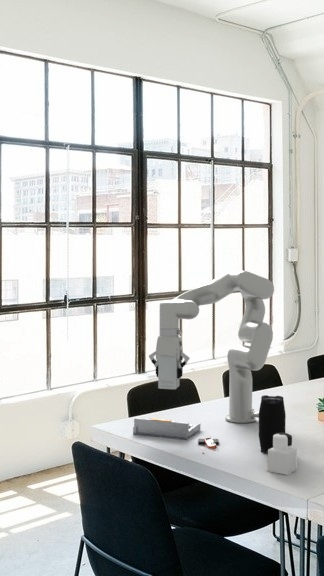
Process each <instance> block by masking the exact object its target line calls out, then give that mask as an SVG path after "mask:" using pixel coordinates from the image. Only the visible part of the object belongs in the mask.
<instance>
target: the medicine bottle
mask: <svg viewBox="0 0 324 576" xmlns="http://www.w3.org/2000/svg"><path fill="white" fill-rule="evenodd" d="M297 453H298V449H297V448H296V447H293V436H292V435H291V434H290V433H287V432H285V433H276V434H274V435H273V448H271V449H269V450H268V452H267V471H268V472H270V473H275V474H279V475H280V474H281V475H284V476H288V475H290V474H292V473H293V472H295V471H297V469H298V468H297V464H298V463H297V461H298V459H297V458H298V456H297V455H298V454H297Z"/></svg>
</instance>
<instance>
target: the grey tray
mask: <svg viewBox="0 0 324 576" xmlns="http://www.w3.org/2000/svg"><path fill="white" fill-rule="evenodd" d="M133 419H134V421H133V423H134V425H133V427H132V434H133V435H135V436H136V435H137V436H145V437H146V436H147V437H155V438H162V439H163V438H164V439H170V440H171V439H173V440H183V441H188V440H189V439H191V438H192V437H194V435H196V434H197V433H199V432H200V431H201V422H197V423H196V424H190V422H183V421H182V422H181V421H172V420H171V419H160V418H159V419H158V418H141V417H140V418H139V417H134V418H133Z"/></svg>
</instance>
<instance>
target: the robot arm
mask: <svg viewBox="0 0 324 576" xmlns="http://www.w3.org/2000/svg"><path fill="white" fill-rule="evenodd" d="M234 292H240V295H241V296H242V297H243V300H244V304H245V308H244V313H243V315H242V318H241V319H242V320H241V322H240V326H239V327H238V328H239V329H238V333H237V335H238V339H239V340H240V341H242V342H243V343H246V344H250V346H249V345H246V344H235V345H233V346H231V347H230V348H229V349H228V351H227V364H228V370H229V373H228V375H229V387H228V389H229V397H228V398H229V399H228V402H229V403H228V404H229V406H228V407H229V408H228V410H229V411H228V412H229V413H228V414H227V415H225V421H227V422H231V423H237V424H249V423H253V422H255V421H256V419H257V418H258V419H259V411H254V410H255V408H253V375H252V371H259V370H261V369H262V368H263V367H264V365H265V364H266V361H267V359H268V355H269V351H270V350H271V349H270V348H271V345H272V342H273V339H274V335H273V334H274V332H273V327H272V326H271V325H270V324H269V323H266V322H264V318H265V314H266V305H265V302H264V300H267V299H270V298H271V297H272V296H273V295H274V293H275V286H274V284H273V282H272V281H271V280H270V279H268V278H266V277H264V276H261V275H258V274H255V273H252V272H250V271H248V270H240V269H239V270H235V269H233V270H228V271H226V272H224V273H222V274H221V275H219V276H218V277H216V278H214V279H213V280H211V281H209V282H207V283H206V284H204V285H203V284H202V285H201V286H198V287H195V288H193V289H189V290H187V291H185V292H183V293H181V294H180V295H177V296H176V297H174V298H173V299H172V300H163V301H161V302H160V303H159V335H158V336H157V339H156V340H157V341H156V346H155V351H154V352H152V353H151V354H149V355H148V358H149V359H150V361H151V363H152V364H153V365H154V368H155V375H156V378H158V357H159V356H170V357H177V366H178V368H177V378H178V379H179V378H180V379H181V378H182V377H183V374H184V373H183V368H184V367H185V366H186V365H187V363H188V362H189V360H190V359H191V358H190V356H189V355H187V354H186V353H185V352H184V351H183V341H182V337H181V335H182V333H183V330H180V328H179V327H180V326H179V325H180V321H179V320H193V319H195V318H197V317H198V316H199V313H200V306H207V305H212V304H216V303H218V302H220V301H221V300H223V299H224V298H226V297H228V296H229V295H231V294H233V293H234ZM182 361H183V362H182Z"/></svg>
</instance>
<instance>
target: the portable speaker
mask: <svg viewBox="0 0 324 576" xmlns="http://www.w3.org/2000/svg"><path fill="white" fill-rule="evenodd" d="M260 399H261V400H260V405H259V409H258V412H259V418H258V440H259V446H260V452H261V453H262V454H267V453H268V450H269V449H271V448H273V435H274V434H276V433H286V418H287V417H286V416H287V414H286V409H285V408H286V407H285V402H284V396H282V395H275V396H274V395H270V396H269V395H262V396H261V397H260Z"/></svg>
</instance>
